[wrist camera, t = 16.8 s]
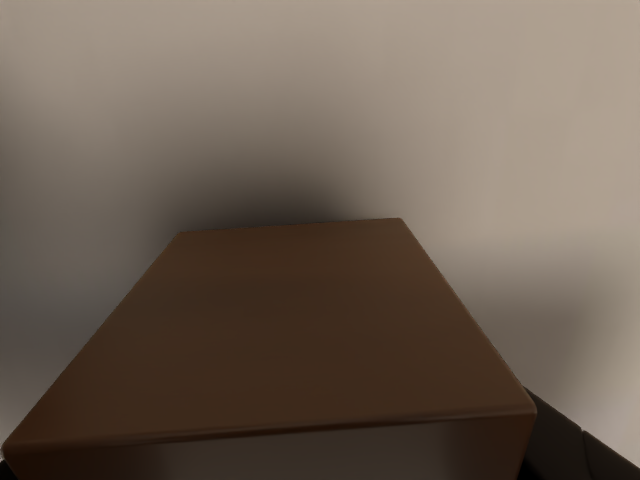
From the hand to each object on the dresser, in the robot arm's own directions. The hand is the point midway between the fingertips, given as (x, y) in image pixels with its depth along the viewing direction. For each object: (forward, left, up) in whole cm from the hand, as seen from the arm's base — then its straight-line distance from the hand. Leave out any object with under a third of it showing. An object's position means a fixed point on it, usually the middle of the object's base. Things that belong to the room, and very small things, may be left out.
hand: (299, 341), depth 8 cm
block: (0, 0, -1) cm, 1 cm away
